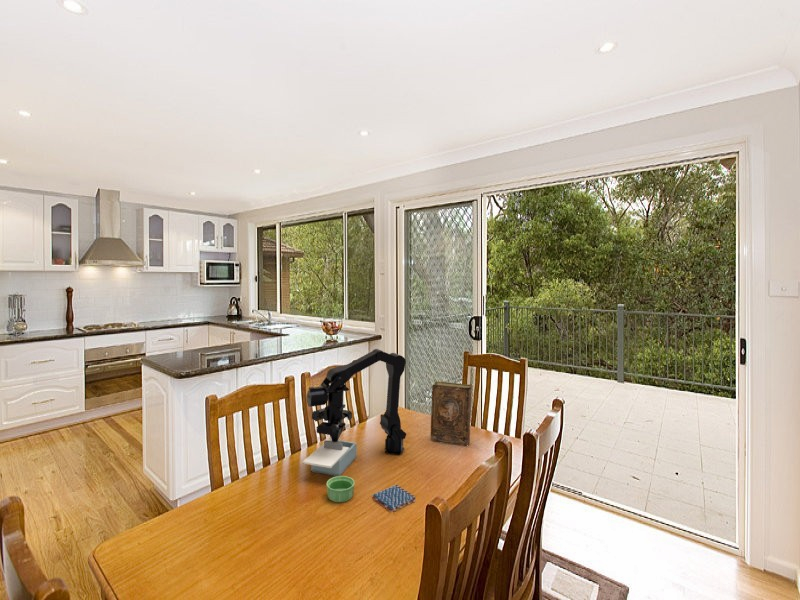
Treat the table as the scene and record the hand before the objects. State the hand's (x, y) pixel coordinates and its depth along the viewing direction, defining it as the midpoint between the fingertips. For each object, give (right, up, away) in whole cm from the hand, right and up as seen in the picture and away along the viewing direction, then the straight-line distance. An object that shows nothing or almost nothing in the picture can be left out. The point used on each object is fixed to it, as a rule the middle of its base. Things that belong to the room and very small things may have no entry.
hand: (334, 443), depth 150 cm
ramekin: (+5, -10, -21) cm, 23 cm away
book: (+46, -8, +24) cm, 52 cm away
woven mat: (+22, -10, -23) cm, 33 cm away
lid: (-2, -2, -6) cm, 7 cm away
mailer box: (0, -8, 0) cm, 8 cm away
